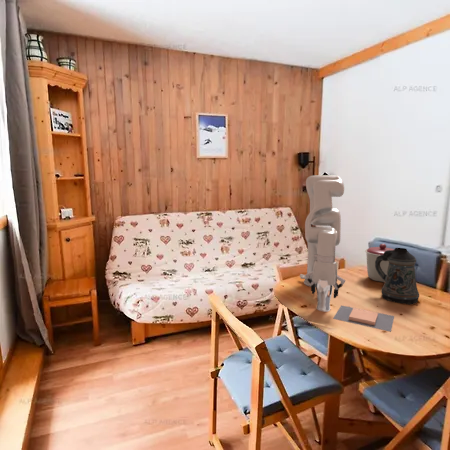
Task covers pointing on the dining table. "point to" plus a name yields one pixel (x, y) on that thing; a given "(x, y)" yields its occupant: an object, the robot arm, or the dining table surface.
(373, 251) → the canister
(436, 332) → the dining table surface
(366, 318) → the tile
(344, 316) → the mat
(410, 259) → the beer stein
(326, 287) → the beer glass
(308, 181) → the robot arm
